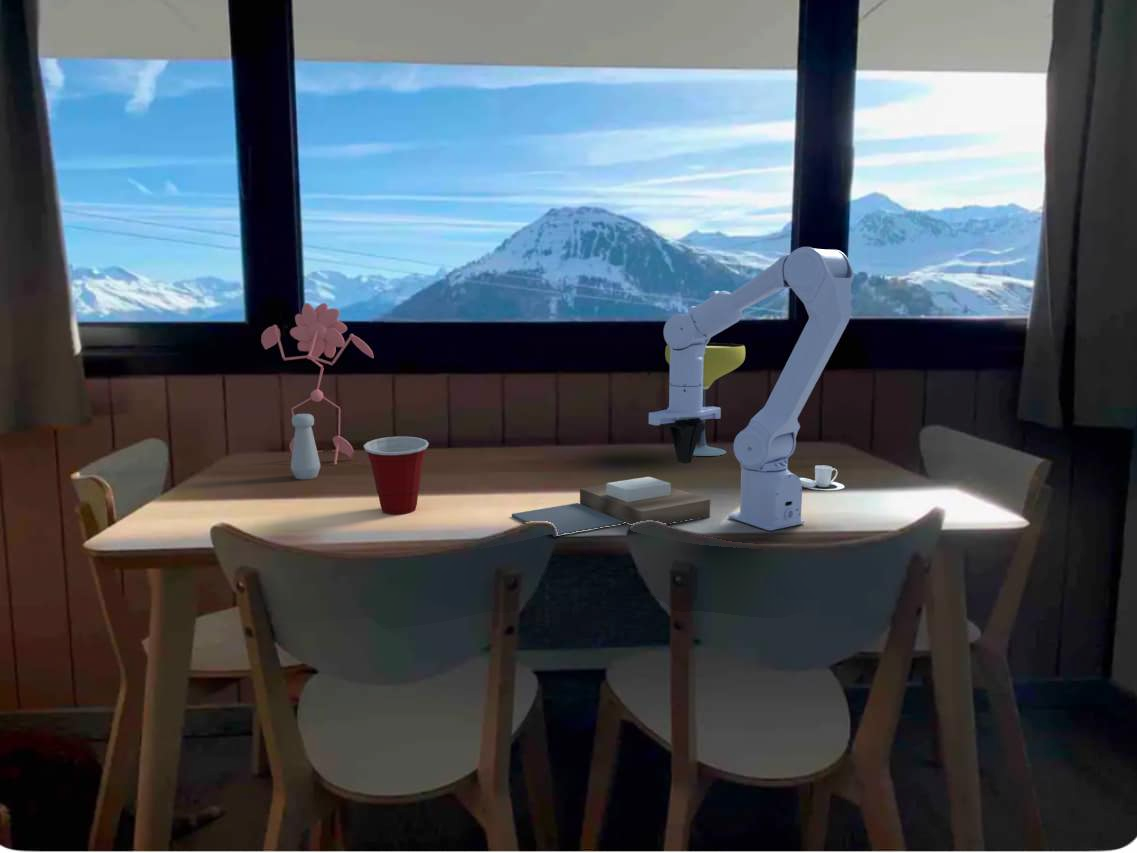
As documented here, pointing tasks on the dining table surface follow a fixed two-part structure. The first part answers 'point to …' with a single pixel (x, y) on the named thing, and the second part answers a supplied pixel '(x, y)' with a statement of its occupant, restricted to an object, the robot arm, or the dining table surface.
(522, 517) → the mat
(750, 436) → the robot arm
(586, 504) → the deck
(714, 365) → the cocktail glass
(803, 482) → the teacup and saucer
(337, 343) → the figurine
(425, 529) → the dining table surface
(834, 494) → the dining table surface
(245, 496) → the dining table surface
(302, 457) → the salt shaker
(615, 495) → the pale grey flat block
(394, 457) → the plastic cup
